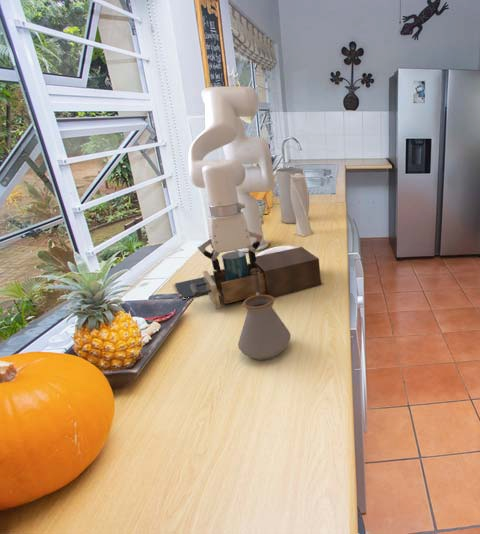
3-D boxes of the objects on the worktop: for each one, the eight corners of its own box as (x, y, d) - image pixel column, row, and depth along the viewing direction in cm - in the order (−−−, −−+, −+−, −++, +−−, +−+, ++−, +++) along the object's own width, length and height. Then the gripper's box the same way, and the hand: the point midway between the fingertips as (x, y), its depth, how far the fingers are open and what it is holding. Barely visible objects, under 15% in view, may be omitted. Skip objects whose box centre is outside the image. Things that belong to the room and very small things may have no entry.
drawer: (199, 313, 104) (193, 290, 101) (191, 296, 114) (186, 274, 111) (272, 293, 115) (269, 272, 112) (259, 279, 124) (256, 259, 121)
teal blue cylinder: (226, 288, 116) (219, 254, 111) (248, 283, 119) (242, 249, 115) (232, 298, 110) (225, 262, 106) (255, 292, 113) (249, 257, 109)
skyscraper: (316, 233, 173) (310, 169, 162) (304, 237, 167) (297, 172, 157) (304, 230, 177) (297, 168, 166) (292, 234, 171) (284, 170, 161)
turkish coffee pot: (295, 358, 86) (286, 298, 81) (240, 370, 83) (227, 308, 77) (285, 314, 105) (278, 263, 99) (240, 322, 101) (229, 270, 95)
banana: (311, 254, 148) (306, 269, 134) (261, 258, 147) (251, 273, 133) (309, 242, 146) (304, 256, 133) (259, 246, 145) (248, 260, 131)
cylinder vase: (284, 217, 198) (278, 168, 189) (309, 216, 199) (304, 167, 190) (280, 224, 187) (273, 172, 177) (306, 223, 188) (301, 171, 178)
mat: (175, 285, 123) (175, 283, 123) (218, 275, 130) (218, 273, 130) (181, 300, 113) (181, 298, 113) (228, 288, 120) (227, 287, 120)
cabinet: (268, 298, 114) (264, 271, 110) (255, 283, 124) (250, 257, 121) (321, 284, 123) (318, 258, 119) (304, 270, 133) (301, 246, 130)
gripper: (253, 203, 113) (261, 257, 120) (188, 212, 104) (201, 270, 110) (261, 208, 107) (269, 265, 114) (192, 218, 98) (206, 279, 105)
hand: (235, 267), depth 112 cm, fingers open, 9 cm apart
